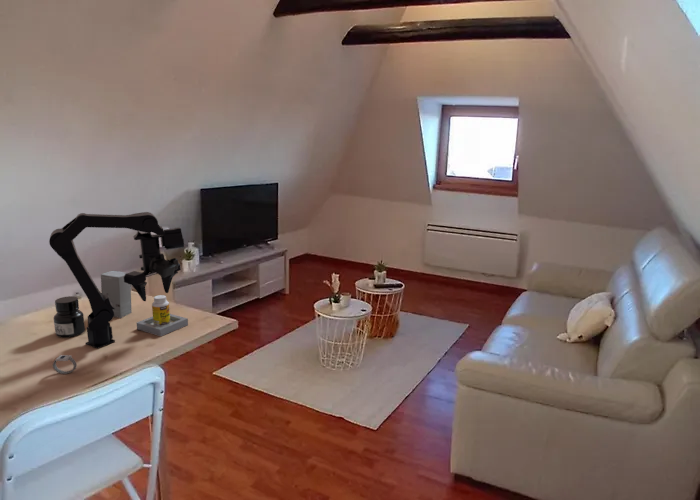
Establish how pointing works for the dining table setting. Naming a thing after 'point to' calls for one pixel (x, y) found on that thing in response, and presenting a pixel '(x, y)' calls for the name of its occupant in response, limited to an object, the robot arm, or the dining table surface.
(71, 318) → the ink bottle
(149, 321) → the tray
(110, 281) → the skincare box
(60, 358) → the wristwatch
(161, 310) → the supplement bottle
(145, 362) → the dining table surface
